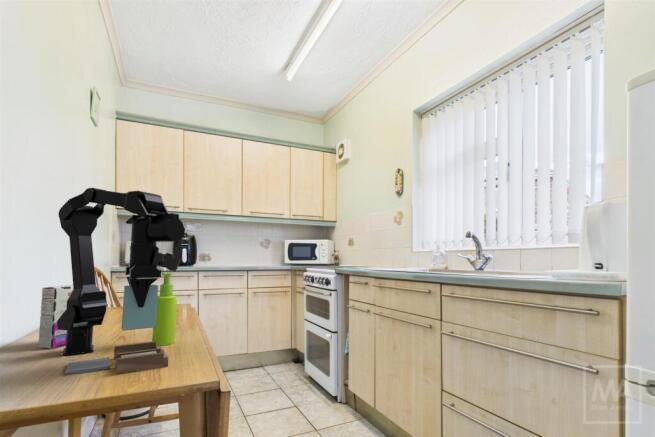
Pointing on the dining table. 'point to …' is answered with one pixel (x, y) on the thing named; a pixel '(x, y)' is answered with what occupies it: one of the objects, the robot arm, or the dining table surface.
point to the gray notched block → (138, 354)
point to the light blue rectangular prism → (139, 310)
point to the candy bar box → (53, 316)
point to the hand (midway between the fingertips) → (140, 306)
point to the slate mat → (87, 366)
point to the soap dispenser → (165, 314)
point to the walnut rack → (139, 357)
